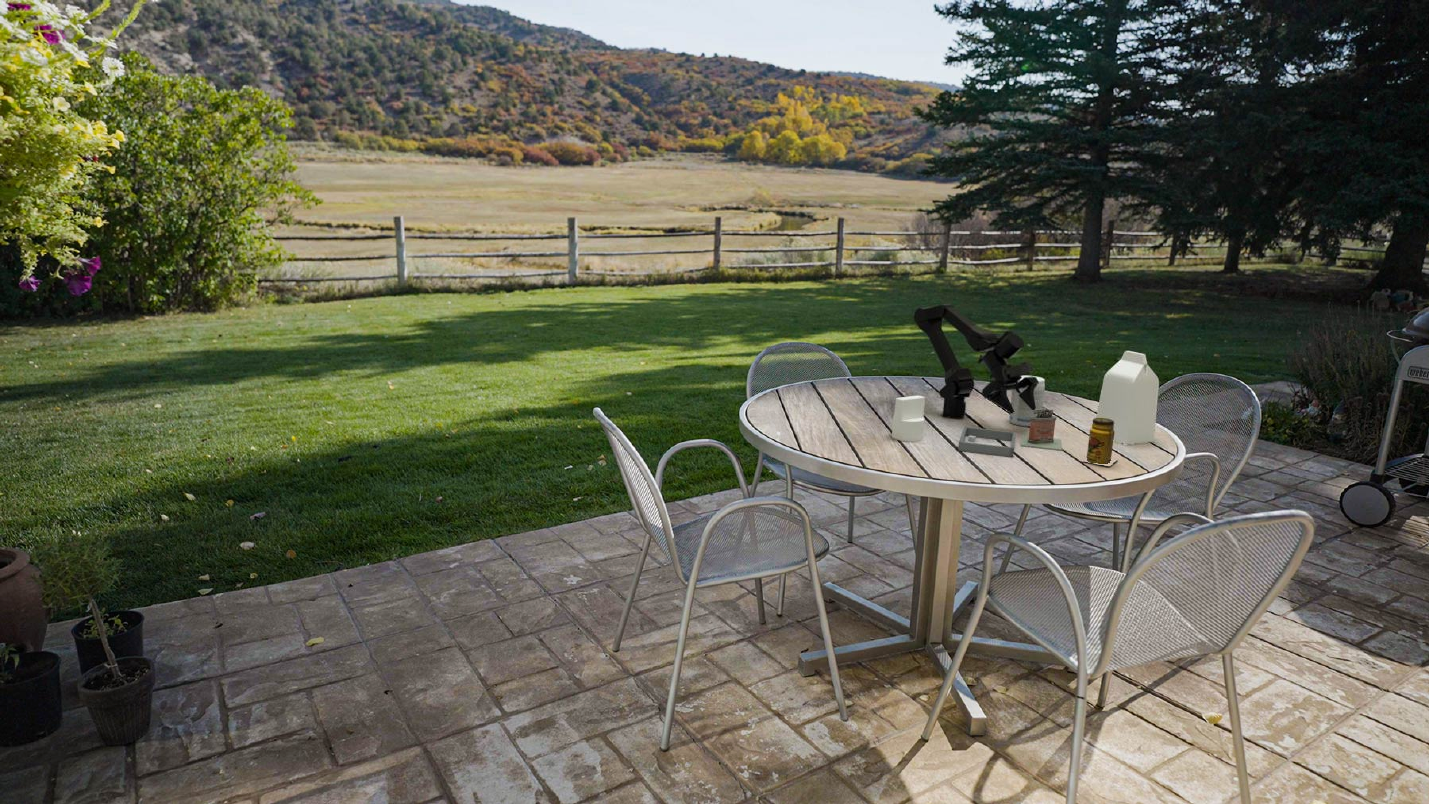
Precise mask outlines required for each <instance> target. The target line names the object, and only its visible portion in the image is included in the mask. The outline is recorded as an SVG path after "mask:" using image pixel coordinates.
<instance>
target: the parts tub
mask: <svg viewBox="0 0 1429 804" xmlns="http://www.w3.org/2000/svg"><path fill="white" fill-rule="evenodd" d="M1016 434H1017V432H1015V431H1007V430H1004V431H1003V430H999V429H998V430H997V429H989V428H977V427H969V426H964V427H963V429H962V432H961V435H960V438H959V440H958V447H957V448H958V452H965V453H966V452H968V453H976V454H982V455H983V454H985V455H992V456H1000V457H1001V456H1002V457H1010V458H1013V457H1014V451H1015V443H1016ZM966 437H968V441H969V442H968V441H967V442H966V441H965V440H966ZM976 438H981V439H983V438H984V439H992V440H1000V441H1007V442H1008V441H1010V442H1011V446H1002V445H994V444H988V443H987V444H985V443H979V442H978V443H977V442H976Z"/></svg>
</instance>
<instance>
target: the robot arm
mask: <svg viewBox="0 0 1429 804" xmlns="http://www.w3.org/2000/svg"><path fill="white" fill-rule="evenodd" d="M913 314H914V315H913V321H914V323H915V325H916V326H917V327H918V329H919V330H921V331H922V332H923V333H924V334H926V335H927V337H928V339H929V342H930V343H931V345H932V347H933V349H934V351H935V354H936V356H937V358H938V360H939V362H940V364H941V366H942V368H943V370H944V383H945V385H944V386H943V387H942V388H941V389H939V391H938V392H939V397H940V398H942V399H943V410H942V414H941V417H945V418H953V419H954V418H955V419H963V418H964V417H965V416H966V412H967V411H966V410H967V401H965V400H966V398H970V395H971V394H972V392H973V390H974V387H975V381H974V380H975V377H974V376H973V374H972V373H971V370H970V369H969V368H968V367H964V368H963V367H962V366H961V365H960V363H959V361H958V359H957V358H956V354H955V353H954V350H953V349H952V346H951V345H950V343H949V341H948V338H947V337H946V335H945V333H944V331H943V328H942V327H943V320H945V321H946V322H947V323H948V324H950V325H951V326H952V327H953V328H954V329H956V331H958V332H959V333H960V334H962V335H963V336H964V337H965V340H966V342H967V344H968V345H969V347H970V348H971V349H972V350H973V351H974V352H977V353H978V352H979V353H980V352H985V353H983V354H980V355H979V359H978V360H977V361H978V362H977V364H979V365H980V364H985V366H986V368H987V369H988V371H989V372H990V375H989V379H990V380H992V381H990V382H989V383H987V385H986V386H984V387H983V388H982V390H981V395H982V396H983V399H988V401H991V402H993V403H994V404H996V405H997V406H999V407H1001V408H1003V410H1005V411H1007V412H1008V413H1009V414H1010V413H1011V414H1012V413H1014V409H1013V407H1012V405H1011V400H1010V399H1009V396H1008V394H1007V393H1008V391H1012V390H1014V389H1015V390H1016V391H1017V392H1018V393H1019V395H1018V396H1019V397H1020V398H1021V399H1022V400H1023V401H1024V402H1025V403H1026V404H1027V405H1028V406H1029V407H1030V408H1031V409H1032V410H1035V409H1036V406H1035V400H1034V389H1035V387H1037V384H1038V383H1039V382H1038V380H1037V378H1036V377H1037V376H1036V377H1033V376H1034V375H1031V374H1032V373H1031V372H1032V371H1033V365H1032V363H1031V362H1030V361H1027V360H1026V361H1023V362H1020V364H1016V365H1014V364H1009V363H1008V361H1007V360H1009V359H1012V358H1013V357H1014V356H1015V355H1016V354H1018V353H1019V352H1020V351H1021V350H1022V349H1023V348H1024V347H1025V342H1024V340H1023V338H1022V337H1020V336H1019V335H1018V334H1016V333H1014V331H1013V330H1006V331H1005V332H1003V334H1002V336H1000V337H998V336H997V335H996V334H995V333H994V332H993V331H991V330H989V329H986V328H983V327H981V326H978V325H977V324H975V323H974V322H973V321H972V320H970V319H969V318H968V317H966V316H965V315H964V314H963V313H962V312H961V311H959V310H958V309H957V308H955V305H953V304H951V303H944V304H943V303H941V304H939V305H935V306H932V307H930V306H929V307H918V308H917V309H916V310H915V311H914V313H913ZM1023 375H1024V376H1030V375H1031V376H1032V377H1025V378H1023V379H1022V380H1021V381H1020V382H1018V380H1020V379H1021V378H1022V377H1021V376H1023ZM1017 382H1018V383H1017Z"/></svg>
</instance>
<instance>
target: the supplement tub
mask: <svg viewBox="0 0 1429 804" xmlns="http://www.w3.org/2000/svg"><path fill="white" fill-rule="evenodd" d="M1032 376H1033V377H1036V378H1037V380H1038V382H1039V383H1038V384H1037V387H1035V389H1034V400H1035V406H1036V409H1043V408H1044V399H1045V390H1046V389H1045V386H1046V385H1045V381H1046V379H1045V378H1043V377H1041V376H1034V375H1023V376H1021V377H1022V378H1021V379H1020V380H1018V382H1020V381H1021V380H1022V379H1023V378H1025V377H1032ZM1018 382H1017V383H1018ZM1018 395H1019V393H1018V392H1017V391H1016V390H1015V389H1014V390H1011V397H1010V403H1011V405H1012V407H1013V409H1014V413H1012V414H1011V413H1010V412H1009V418H1008V419H1009V422H1010V424H1013V425H1015V426H1018V427H1019V426H1022V427H1025V428H1026V427H1027V428H1028V427H1029V428H1030V422H1031V420H1030V417H1032V416H1037V414H1033V413H1034V410H1032V409H1031V408H1030V407H1029V406H1028V405H1027V404H1026V403H1025V402H1024V401H1023V400H1022V399H1021V398H1020V397H1019V396H1018Z"/></svg>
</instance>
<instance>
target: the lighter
mask: <svg viewBox="0 0 1429 804" xmlns="http://www.w3.org/2000/svg"><path fill="white" fill-rule="evenodd" d="M1033 414H1037V416H1032V417H1030V420H1031V422H1030V427H1029V434H1028V436H1029V439H1028V443H1031V444H1045V443H1053V442H1054V439H1055V438H1054V436H1055V435H1054V434H1055V427H1056V420H1057V416H1055V415H1053V414H1054V409H1052V408H1049V409H1048V408H1046V407H1043V409H1035V410H1034V413H1033Z"/></svg>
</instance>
